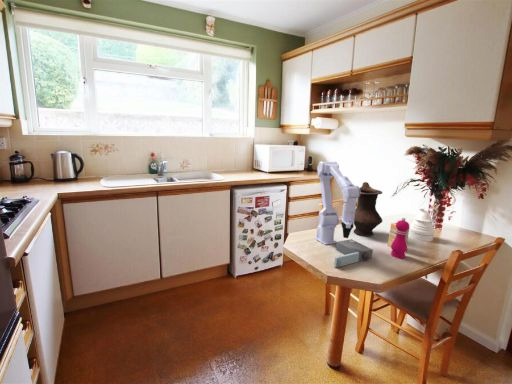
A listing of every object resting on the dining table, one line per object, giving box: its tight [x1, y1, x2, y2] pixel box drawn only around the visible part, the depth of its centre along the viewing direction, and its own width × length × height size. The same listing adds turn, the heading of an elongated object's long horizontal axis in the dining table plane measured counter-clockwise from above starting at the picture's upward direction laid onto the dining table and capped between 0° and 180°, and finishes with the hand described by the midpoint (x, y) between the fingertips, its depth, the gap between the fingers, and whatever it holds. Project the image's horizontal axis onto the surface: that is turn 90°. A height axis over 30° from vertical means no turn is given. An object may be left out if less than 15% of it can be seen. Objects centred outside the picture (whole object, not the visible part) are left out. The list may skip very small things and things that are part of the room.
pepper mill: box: [390, 217, 410, 259], centre depth 142 cm, size 7×7×20 cm
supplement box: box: [387, 222, 410, 248], centre depth 153 cm, size 8×5×13 cm, turn 21°
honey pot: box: [408, 207, 435, 243], centre depth 170 cm, size 13×13×18 cm
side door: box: [333, 252, 359, 268], centre depth 131 cm, size 14×2×4 cm, turn 118°
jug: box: [353, 181, 383, 237], centre depth 172 cm, size 21×18×30 cm
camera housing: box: [335, 239, 373, 262], centre depth 143 cm, size 15×10×5 cm, turn 27°
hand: (345, 237), depth 141 cm, fingers closed
